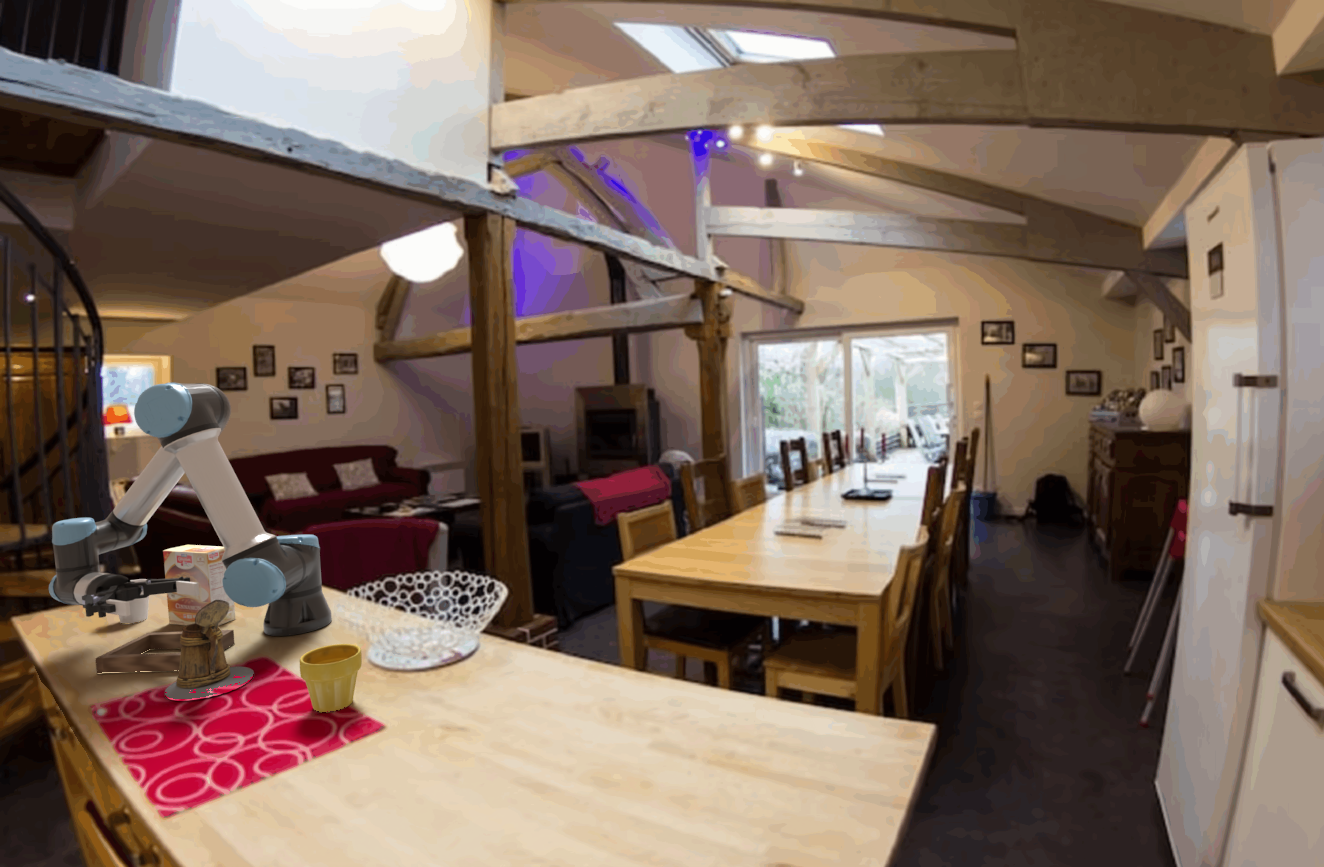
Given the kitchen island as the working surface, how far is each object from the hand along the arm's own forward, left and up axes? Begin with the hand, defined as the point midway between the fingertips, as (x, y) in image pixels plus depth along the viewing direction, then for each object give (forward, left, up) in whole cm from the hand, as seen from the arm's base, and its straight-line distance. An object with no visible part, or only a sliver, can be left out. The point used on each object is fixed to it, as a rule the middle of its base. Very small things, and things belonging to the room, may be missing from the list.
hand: (164, 598), depth 143 cm
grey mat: (-13, +7, -16) cm, 22 cm away
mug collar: (+6, -8, -16) cm, 19 cm away
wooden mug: (-12, +7, -16) cm, 21 cm away
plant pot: (-43, +18, -16) cm, 49 cm away
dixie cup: (+35, -36, -16) cm, 53 cm away
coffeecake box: (+15, -33, -16) cm, 40 cm away
